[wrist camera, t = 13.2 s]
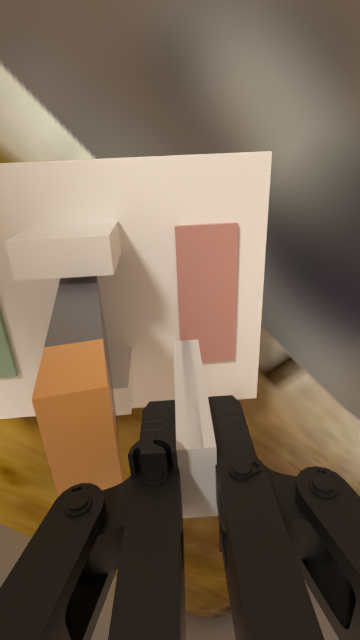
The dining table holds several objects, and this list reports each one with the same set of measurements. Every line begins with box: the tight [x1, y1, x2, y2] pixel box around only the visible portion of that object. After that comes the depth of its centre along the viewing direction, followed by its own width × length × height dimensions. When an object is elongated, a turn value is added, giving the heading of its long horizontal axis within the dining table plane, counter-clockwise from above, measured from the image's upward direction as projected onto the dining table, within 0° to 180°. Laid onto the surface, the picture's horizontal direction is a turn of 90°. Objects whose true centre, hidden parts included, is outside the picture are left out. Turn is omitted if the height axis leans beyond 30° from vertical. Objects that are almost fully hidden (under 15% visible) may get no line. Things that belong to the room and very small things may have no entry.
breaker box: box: [0, 151, 272, 419], centre depth 24 cm, size 24×18×10 cm
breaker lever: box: [31, 276, 124, 497], centre depth 17 cm, size 2×6×14 cm, turn 2°
